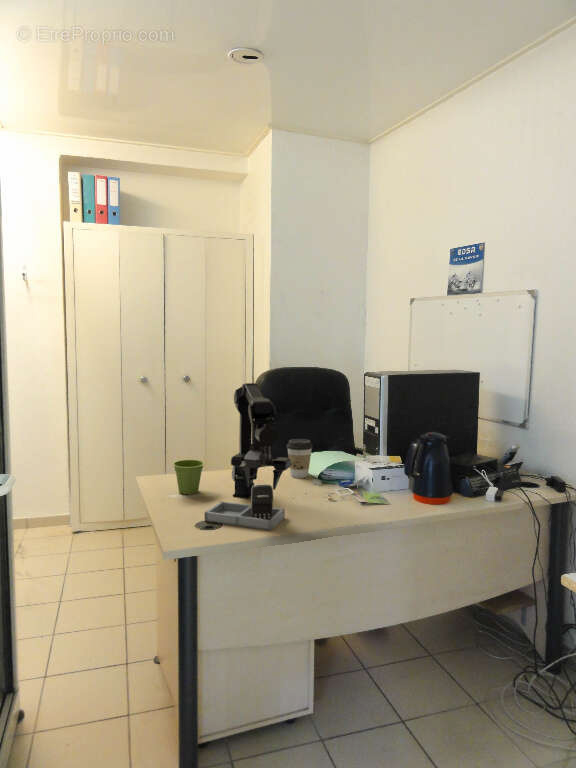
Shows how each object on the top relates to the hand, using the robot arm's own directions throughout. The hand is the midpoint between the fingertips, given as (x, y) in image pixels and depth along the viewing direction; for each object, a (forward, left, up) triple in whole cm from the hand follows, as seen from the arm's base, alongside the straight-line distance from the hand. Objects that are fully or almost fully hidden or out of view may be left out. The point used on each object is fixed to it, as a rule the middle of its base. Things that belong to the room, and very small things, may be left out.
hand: (260, 488), depth 173 cm
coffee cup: (-6, +57, -11) cm, 58 cm away
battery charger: (0, 0, -11) cm, 11 cm away
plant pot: (-38, +20, -11) cm, 44 cm away
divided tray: (-6, 0, -11) cm, 13 cm away
